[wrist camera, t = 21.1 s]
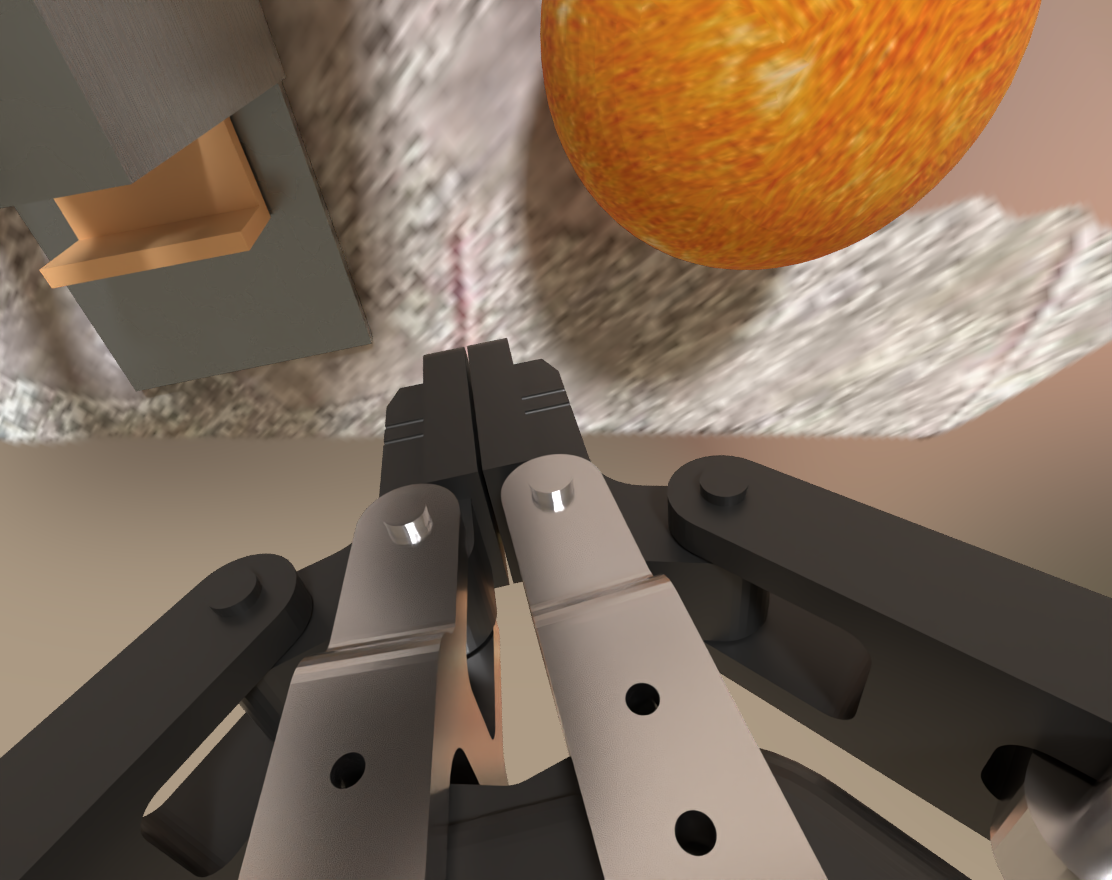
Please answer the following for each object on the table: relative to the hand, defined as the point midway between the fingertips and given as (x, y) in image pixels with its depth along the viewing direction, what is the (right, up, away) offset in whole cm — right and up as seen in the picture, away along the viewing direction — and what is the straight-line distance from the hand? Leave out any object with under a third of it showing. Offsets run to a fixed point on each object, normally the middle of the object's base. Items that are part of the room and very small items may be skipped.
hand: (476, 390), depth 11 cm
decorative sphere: (+9, +23, +24) cm, 35 cm away
